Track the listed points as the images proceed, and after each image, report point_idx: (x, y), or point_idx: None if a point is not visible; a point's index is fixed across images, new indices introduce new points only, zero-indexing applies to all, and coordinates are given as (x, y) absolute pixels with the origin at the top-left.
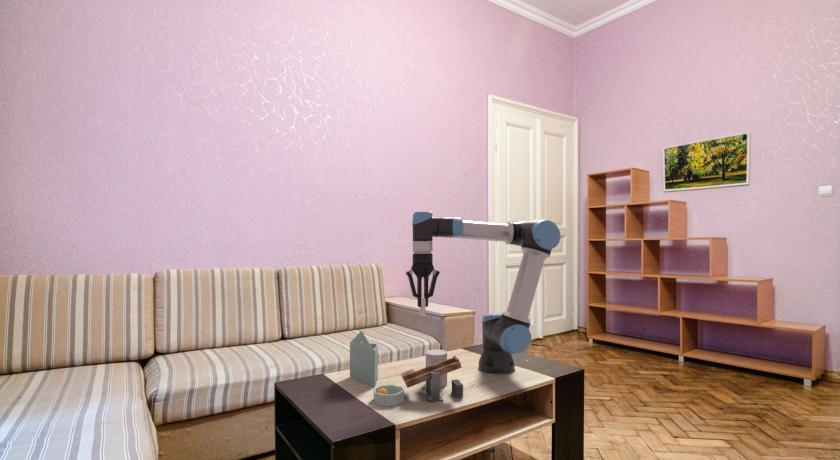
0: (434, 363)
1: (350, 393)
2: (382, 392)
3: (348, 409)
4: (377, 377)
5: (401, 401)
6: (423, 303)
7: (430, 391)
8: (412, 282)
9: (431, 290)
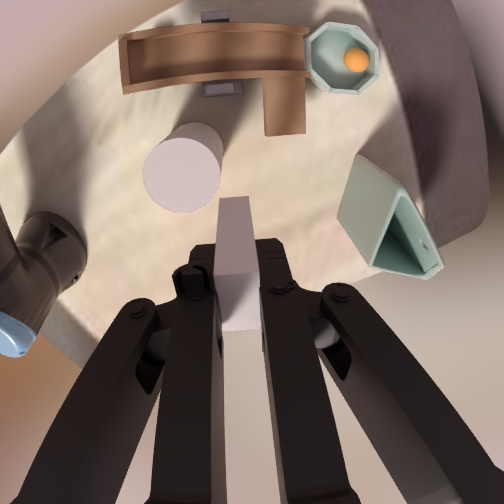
0: (195, 134)
1: (408, 127)
2: (359, 50)
3: (416, 42)
4: (341, 206)
5: (307, 36)
6: (236, 245)
7: (221, 82)
8: (437, 427)
9: (125, 353)
